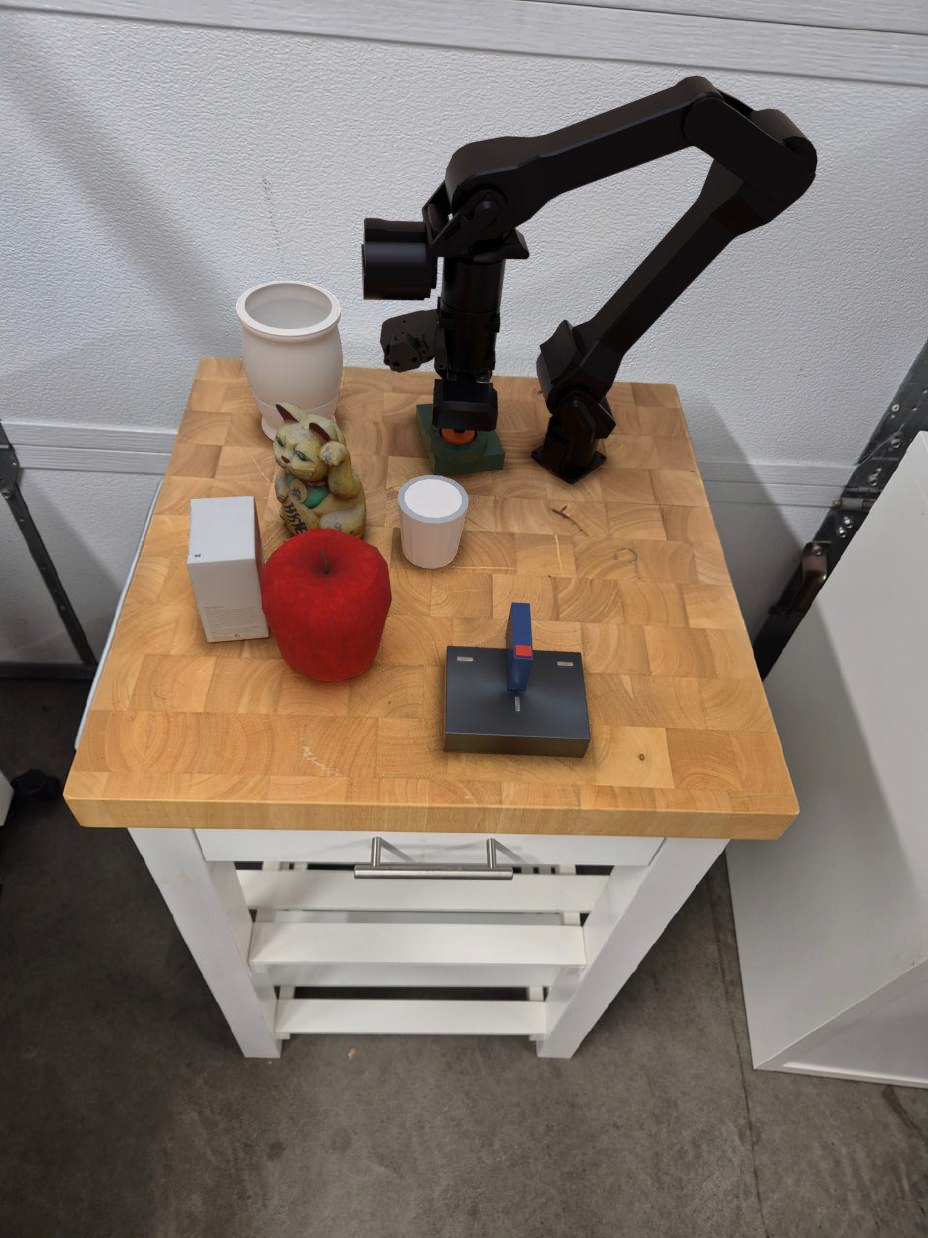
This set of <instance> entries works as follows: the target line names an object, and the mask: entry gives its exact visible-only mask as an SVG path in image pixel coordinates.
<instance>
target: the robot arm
mask: <svg viewBox="0 0 928 1238" xmlns="http://www.w3.org/2000/svg"><path fill="white" fill-rule="evenodd" d="M692 147H695V148H696V149H698V150H700V151H701V152H703V153H705V154H706V155H707V156H709V157H710V158H712V161H711V164H710V167H709V170H708V171H707V174H706V177H705V179H704V182H703V185H702V187H701V190H700V192H699V195H698V197H697V198H696V200H695V201H694V202H693V204H692V205H690V207H689V208H688V209H687V211H686V212H685V213H684V214H682V216H681V217H680V218H679V219H678V221H677V222H676V223H675V224H674V225H673V226H672V227H671V228H670V230H669V231H668V232H667V233H666V234H665V236H663V238H661V240H660V241H659V242H658V243H657V244H656V246H654V248H653V249H652V250H651V251H650V253H649V254H648V255H647V256H646V257H644V259H643V260H642V262H640V264H639V265H638V266H637V267H636V268H635V269H634V271H632V273H631V274H630V275H629V276H628V277H627V279H626V280H624V282H623V283H622V284H621V286H620V287H618V289H616V290H615V292H614V293H613V294H612V295H611V296H610V297H609V299H608V300H607V301H606V302H605V303H604V305H603V306H602V307H601V308H600V309H599V310H598V311H597V313H595V315H594V316H593V317H592V318H590V319H589V320H587V321H585V322H581V323H579V324H576V325H574V326H573V324H571V323H570V321H568V319H563V320H562V321H561V322H560V323H559V324H558V326H557V327H556V329H555V331H554V332H553V334H552V335H551V336H550V337H549V338H548V339H547V340H545V341H544V342H542V343H540V344H539V346H538V348H539V350H540V352H539V355H538V356H537V358H536V360H535V371H536V376H537V380H538V383H539V387H540V390H541V394H542V396H543V400H544V403H545V407H546V409H547V411H548V413H549V414H550V415H551V416H550V417H549V418H548V422H547V427H546V431H545V434H544V438H543V442H542V444H541V445H539V446H538V447H535V449H532V450H531V452H530V458H531V459H533V460H535V462H537V463H539V464H540V465H542V466H543V467H544V468H546V469H548V470H549V471H551V472H553V473H554V474H555V475H556V476H558V477H559V478H561V479H562V480H563V481H565V482H567V483H569V484H575V483H576V482H578V481H580V480H581V479H583V478H584V477H585V476H587V475H588V474H591V472H593V471H594V470H596V469H597V468H599V467H601V466H602V465H603V464H605V463H606V462H607V459H608V458H607V456H606V455H605V454H603V453H602V452H600V451H598V448H599V443H600V440H606V439H608V438H609V437H610V435H611V434H612V433H613V431H614V429H615V428H616V426H617V422H616V419H615V417H614V413H613V410H612V409H611V406H610V403H609V401H608V397H607V395H608V393H609V392H610V390H611V389H612V387H613V385H614V382H615V380H616V378H617V374H618V372H619V370H620V367H621V364H622V361H623V359H624V358H625V356H626V354H627V353H628V352H629V350H630V349H631V348H633V346H634V345H635V344H637V342H638V341H639V340H640V339H641V338H642V337H643V336H644V335H645V334H646V332H648V330H650V328H651V327H652V326H653V325H654V324H655V323H656V322H658V320H659V319H660V318H661V317H662V316H663V314H664V313H665V312H666V311H667V310H669V308H670V307H671V306H672V305H673V304H674V303H675V302H676V301H677V299H679V297H680V296H682V294H684V292H685V291H686V290H687V289H688V288H689V287H690V286H691V285H692V284H693V283H694V282H695V281H696V279H697V278H698V277H699V276H700V275H701V274H703V272H704V271H705V270H707V268H708V267H709V266H710V265H711V264H712V263H713V262H714V260H716V259H717V257H718V256H719V255H720V254H721V253H722V252H723V251H724V250H725V249H726V248H727V246H728V245H730V244H731V243H732V242H733V241H734V240H735V239H736V238H738V237H740V236H742V235H744V234H747V233H749V232H752V231H753V230H756V229H759V228H761V227H764V226H765V225H768V224H770V223H771V222H772V221H774V220H775V219H776V218H777V217H779V216H780V215H782V213H784V212H785V211H786V210H787V209H788V208H790V207H791V206H793V205H794V204H795V203H796V202H797V201H798V200H800V199H801V198H802V197H803V196H804V195H805V194H806V193H807V191H808V190H809V188H810V187H811V186H812V185H813V183H814V181H815V179H816V177H817V173H816V172H817V167H818V162H819V160H818V152H817V149H816V148H815V145H814V144H813V142H812V141H811V140H810V139H809V138H808V137H807V136H806V134H804V132H803V131H802V130H801V129H800V128H799V126H797V125H796V124H795V123H794V122H793V121H792V120H791V119H790V118H789V116H788V115H787V114H786V113H784V112H783V111H781V110H780V109H777V108H770V107H768V108H763V109H759V110H757V109H754V108H753V107H751V106H749V105H748V104H747V103H745V102H743V101H742V100H740V99H739V98H737V97H736V96H734V95H732V94H730V93H728V92H726V91H723V90H721V89H719V88H717V87H716V86H715V85H714V84H713V83H712V82H711V81H710V80H709V79H708V78H706V76H701V75H698V74H697V75H691V76H686V77H683V79H681V80H679V81H678V82H677V83H676V84H675V85H672V86H670V87H667V88H664V89H662V90H659V91H657V92H653V93H652V94H649V95H646V96H644V97H641V98H637V99H636V100H632V101H630V102H628V103H625V104H622V105H620V106H617V107H615V108H612V109H609V110H607V111H604V112H601V113H599V114H596V115H594V116H591V117H588V118H586V119H583V120H579V121H577V122H574V123H572V124H570V125H568V126H565V127H562V128H559V129H557V130H554V131H552V132H549V133H546V134H541V135H535V136H519V135H518V136H517V135H516V136H514V135H503V136H498V137H492V138H488V139H487V138H486V139H482V140H477V141H471V142H468V143H466V144H464V145H462V146H460V147H459V148H457V149H456V150H455V151H454V152H453V154H452V155H451V158H450V160H449V162H448V163H447V166H446V168H445V175H444V180H442V182H441V183H440V184H439V186H438V187H437V188H436V189H435V191H434V192H433V193H432V194H431V196H430V197H429V198H428V200H427V201H426V202H425V203H424V204H423V206H422V207H421V216H422V217H421V218H422V221H417V220H410V221H409V220H388V219H383V218H379V217H365V218H364V219H363V243H361V245H360V249H361V250H360V251H361V255H360V256H361V283H362V284H361V285H362V299H363V300H364V301H412V302H413V301H414V302H415V301H418V302H420V301H422V302H424V301H425V299H431V297H432V296H431V293H432V290H436V289H437V285H438V273H439V272H438V269H439V264H438V263H439V258H442V259H443V260H442V273H441V274H442V275H441V289H440V295H438V296H437V297H436V298H437V299H436V308H431V309H427V310H425V309H420V310H416V311H411V312H407V313H404V314H400V315H397V316H393V317H389V318H387V319H385V320H384V321H383V322H382V324H381V326H380V336H379V344H380V346H381V349H382V353H383V360H382V361H383V364H384V365H385V366H387V367H388V368H389V369H390V370H391V371H392V372H396V373H398V374H400V373H405V372H409V371H413V370H418V369H420V367H421V366H422V365H423V364H426V363H429V362H431V361H433V370H435V373H436V374H437V375H438V376H439V378H434V380H433V383H434V385H433V389H432V391H433V392H432V403H433V408H432V425H433V426H435V427H436V428H440V429H453V430H454V432H455V433H464V432H465V431H466V430H470V431H485V432H491V431H493V430H494V429H495V430H496V429H497V425H498V418H499V417H498V416H499V402H498V401H499V399H498V391H497V390H496V389H495V388H494V382H491V379H492V377H493V375H494V372H493V371H495V370H496V363H497V362H496V361H497V357H496V345H497V338H498V337H497V336H498V334H500V330H501V323H502V322H501V304H502V297H503V289H504V281H505V272H506V264H507V260H521V261H522V260H523V261H524V260H528V259H529V258H530V256H531V254H530V253H531V252H530V250H529V248H528V244H527V242H526V238H525V235H524V234H523V233H521V232H520V230H519V229H517V227H519V226H521V225H523V224H525V223H526V222H528V221H530V220H531V219H532V218H533V217H534V216H535V215H537V214H538V213H539V212H540V211H541V210H542V209H543V208H544V207H545V206H546V205H547V204H548V203H549V202H550V201H552V200H554V199H556V198H558V197H559V196H561V195H563V194H565V193H568V192H571V191H573V190H576V189H579V188H581V187H585V186H588V185H591V184H592V183H595V182H599V181H602V180H603V179H606V178H610V177H611V176H614V175H618V174H619V173H623V172H625V171H629V170H631V169H633V168H636V167H640V166H642V165H644V164H647V163H650V162H653V161H656V160H658V159H661V158H664V157H667V156H669V155H672V154H675V153H677V152H680V151H683V150H685V149H688V148H692ZM450 215H451V218H450Z"/></svg>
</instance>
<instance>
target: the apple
mask: <svg viewBox="0 0 928 1238" xmlns="http://www.w3.org/2000/svg"><path fill="white" fill-rule="evenodd" d="M260 579H261V604H262V610H263V613H264V615H265V617H266V619H267V622H268V626H269V628H270V631H271V633H272V635H273V638H274V640H275V643H276V645H277V647H278V651H279V653H280V655H281V658H283V660H284V661H285V662H286V663H287V665H288V666H289V668H290V669H291V670H293V671H295V672H297V673H299V674H301V675H302V676H304V677H306V678H307V677H308V678H310V679H315V680H318V681H322V682H333V681H336V682H337V681H344V680H348V679H350V678H353V677H356V676H359V675H361V674H362V673H363V672H365V671H366V670H367V669H368V668H369V667H370V666H371V665H372V664H373V663H374V662H375V659H376V657H377V655H378V652H379V650H380V647H381V642H382V639H383V634H384V629H385V625H386V622H387V618H388V615H389V613H390V612H389V611H390V608H391V605H392V601H393V595H392V588H391V580H390V571H389V564H388V562H387V561H386V559H385V557H384V556H383V555H382V553H381V552H380V551H379V548H378V547H377V546H375V545H372V544H371V543H368V542H367V541H365V540H363V539H362V538H360V539H359V538H357V537H355V536H354V535H352V534H348V533H345V532H342V531H339V530H335V529H318V528H313V529H310V530H308V531H305V532H303V533H300V534H298V535H294V536H292V537H290V538H289V539H288V540H286V541H285V542H284V543H282V544H281V545H279V547H277V548H276V549H275V550H274V551H273V552H272V553H271V554H270V556H269V557H268V559H267V560H266V561H265V564H264V566H263V567H262V569H261V570H260Z"/></svg>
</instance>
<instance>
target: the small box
mask: <svg viewBox="0 0 928 1238" xmlns="http://www.w3.org/2000/svg"><path fill="white" fill-rule="evenodd" d="M188 525H189V527H188V541H187V542H188V543H187V554H186V562H185V565H186V569H187V572H188V576H189V580H190V583H191V586H192V591H193V595H194V599H195V603H196V607H197V610H198V613H199V617H200V621H201V624H202V629H203V631H204V634H205V638H206V641H207V643H219V642H229V641H241V640H252V639H263V638H269V637H270V629H269V628H270V626H269V624H268V622H267V619H266V617H265V615H264V613H263V610H262V604H261V579H260V570H261V569H262V567H263V566H264V564H265V563H266V561H265V555H264V548H263V547H264V546H263V543H262V537H261V529H260V522H259V516H258V509H257V502H256V497H255V496H254V495H245V496H244V495H242V496H241V495H240V496H239V495H238V496H224V497H222V496H221V497H204V498H202V497H201V498H191V499H190V500H189V524H188Z"/></svg>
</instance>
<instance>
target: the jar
mask: <svg viewBox="0 0 928 1238" xmlns="http://www.w3.org/2000/svg"><path fill="white" fill-rule="evenodd" d="M235 312H236V318H237V320H238V322H239V323H240V325H241V337H240V339H241V340H240V341H241V343H240V345H241V356H242V364H243V369H244V372H245V376H246V379H247V382H248V384H249V387H250V390H251V394H252V397H253V401H254V403H255V405H256V407H257V409H258V411H259V413H260V415H262V418H261V429H262V431H263V433H264V434H265V435H266V437H268V439H269V440H272V441H273V442H274V441H275V436H276V433H277V431H278V429H279V427H280V426H281V424H282V423H283V422H284V420H283V418H282V416H281V415H280V413H279V412H278V410H277V408H276V404H278V403H281V402H284V403H291V404H294V405H297V406H298V407H300V408H301V409H302V410H303V411H304V412H305V413H307V414H313V415H319V416H322V417H325V418H327V419H329V420H331V421H332V422H334V423H335V424H336V425H337V418H336V417H335V411H336V409H337V407H338V403H339V399H340V391H341V386H342V385H341V384H342V378H343V369H344V353H343V344H342V338H341V334H340V330H339V326H338V325H339V323H340V321H341V317H342V306H341V303H340V301H339V299H338V298H337V297H336V295H334V294H333V293H332V292H331V291H329V290H328V289H326V288H324V287H323V286H322V287H321V286H320V285H317V284H313V283H310V282H305V281H299V280H274V281H269V282H264V283H260V284H256V285H255V286H253V287H250V288H248V289H246V290H245V291H244V292H243V293H242V294H241V295H240V296H239V297H238V299H237V301H236V305H235Z"/></svg>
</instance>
